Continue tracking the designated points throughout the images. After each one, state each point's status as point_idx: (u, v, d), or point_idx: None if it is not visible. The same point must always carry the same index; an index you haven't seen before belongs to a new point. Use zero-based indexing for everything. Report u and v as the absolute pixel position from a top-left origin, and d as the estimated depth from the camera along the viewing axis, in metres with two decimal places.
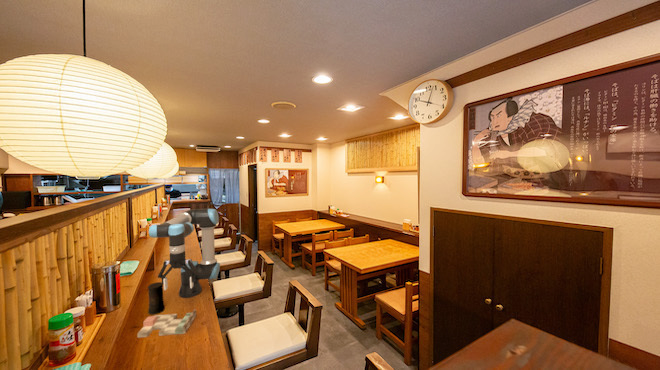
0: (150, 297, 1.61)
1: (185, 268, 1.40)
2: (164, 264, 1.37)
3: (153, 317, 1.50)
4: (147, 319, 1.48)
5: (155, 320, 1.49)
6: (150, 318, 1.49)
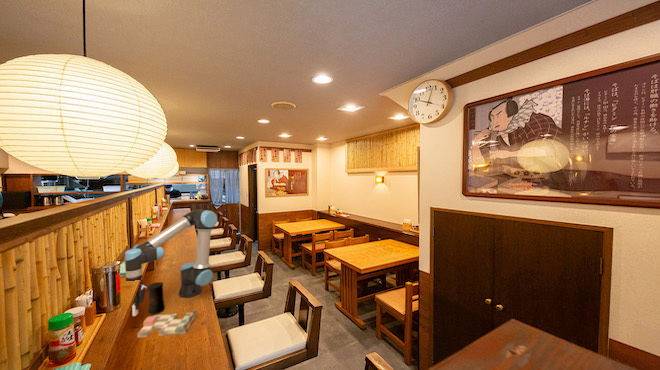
0: (150, 297, 1.61)
1: (136, 294, 1.45)
2: None
3: (153, 317, 1.50)
4: (147, 319, 1.48)
5: (155, 320, 1.49)
6: (150, 318, 1.49)
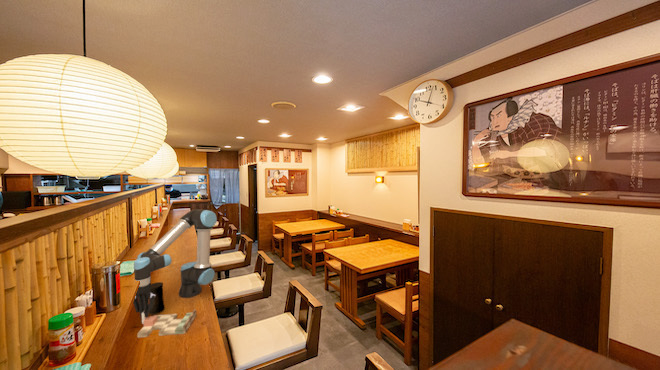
0: None
1: (145, 302, 1.46)
2: None
3: (153, 317, 1.50)
4: (147, 318, 1.48)
5: (155, 320, 1.49)
6: (150, 318, 1.49)
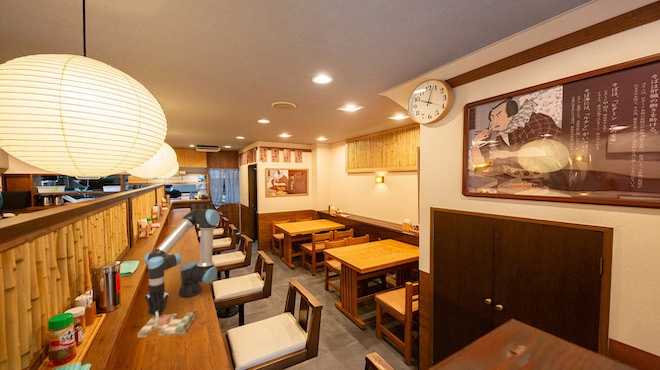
0: None
1: (159, 301, 1.47)
2: (146, 298, 1.46)
3: (167, 316, 1.51)
4: (161, 318, 1.49)
5: (169, 319, 1.50)
6: (164, 317, 1.50)
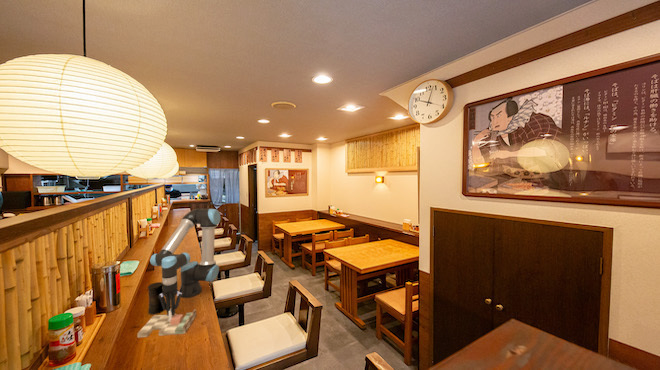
0: (150, 297, 1.61)
1: (172, 300, 1.48)
2: (160, 297, 1.47)
3: (179, 315, 1.52)
4: (174, 317, 1.50)
5: (181, 318, 1.51)
6: (176, 316, 1.51)
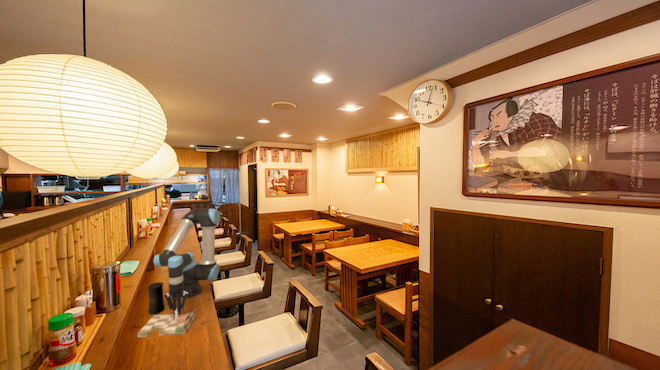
0: (150, 297, 1.61)
1: (178, 300, 1.49)
2: (166, 297, 1.48)
3: (185, 315, 1.52)
4: (180, 316, 1.51)
5: (187, 318, 1.52)
6: (182, 316, 1.51)
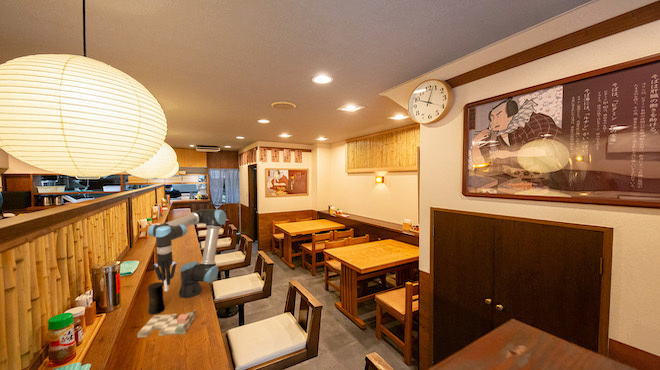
0: (150, 297, 1.61)
1: (167, 270, 1.48)
2: (154, 267, 1.47)
3: (185, 315, 1.52)
4: (180, 316, 1.51)
5: None
6: (183, 316, 1.51)
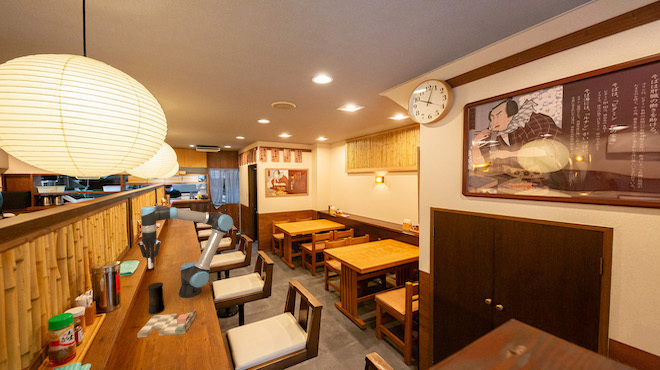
0: (150, 297, 1.61)
1: (151, 248, 1.55)
2: (139, 245, 1.54)
3: (185, 315, 1.52)
4: (180, 316, 1.51)
5: None
6: (183, 316, 1.51)
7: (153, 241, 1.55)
